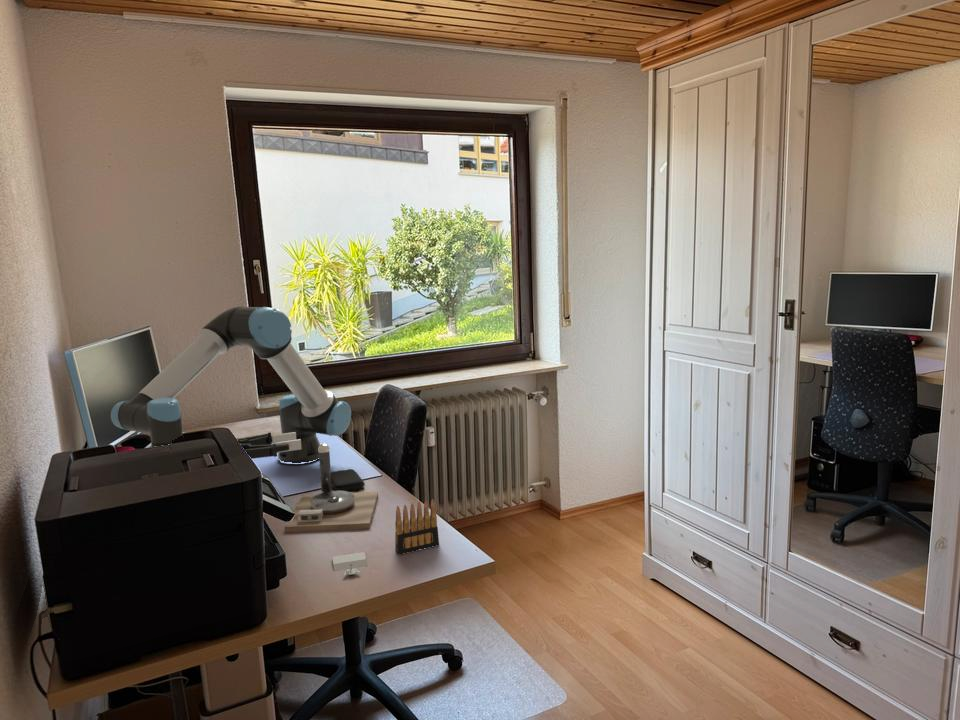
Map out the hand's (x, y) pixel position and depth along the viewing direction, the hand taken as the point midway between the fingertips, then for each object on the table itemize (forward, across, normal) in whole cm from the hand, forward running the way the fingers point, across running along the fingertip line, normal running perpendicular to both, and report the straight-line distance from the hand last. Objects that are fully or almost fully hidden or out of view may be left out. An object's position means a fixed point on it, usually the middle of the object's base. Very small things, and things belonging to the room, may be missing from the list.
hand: (298, 440), depth 182 cm
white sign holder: (+3, +42, -21) cm, 47 cm away
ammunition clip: (+20, +39, -20) cm, 49 cm away
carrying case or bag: (+15, -13, -21) cm, 28 cm away
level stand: (+7, +8, -20) cm, 23 cm away
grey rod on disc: (+7, +5, -18) cm, 20 cm away
